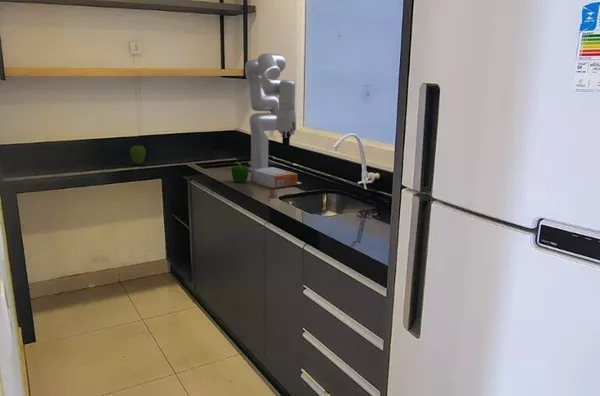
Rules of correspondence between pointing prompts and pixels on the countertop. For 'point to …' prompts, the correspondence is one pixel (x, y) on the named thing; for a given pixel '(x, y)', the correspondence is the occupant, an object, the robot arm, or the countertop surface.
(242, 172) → the bell pepper
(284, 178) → the cracker box
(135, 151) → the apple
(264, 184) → the mat
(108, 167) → the countertop surface
